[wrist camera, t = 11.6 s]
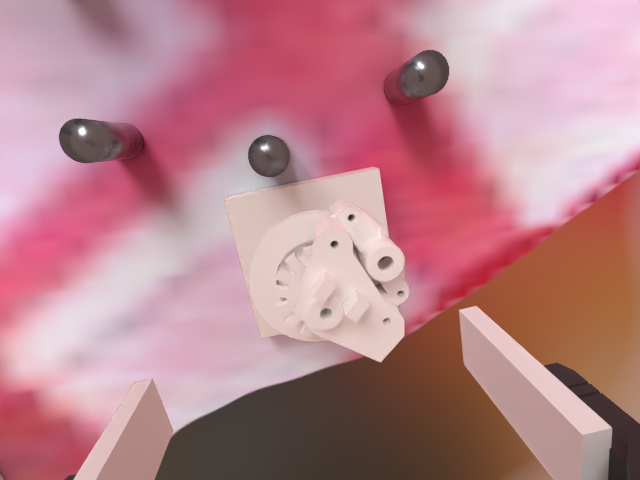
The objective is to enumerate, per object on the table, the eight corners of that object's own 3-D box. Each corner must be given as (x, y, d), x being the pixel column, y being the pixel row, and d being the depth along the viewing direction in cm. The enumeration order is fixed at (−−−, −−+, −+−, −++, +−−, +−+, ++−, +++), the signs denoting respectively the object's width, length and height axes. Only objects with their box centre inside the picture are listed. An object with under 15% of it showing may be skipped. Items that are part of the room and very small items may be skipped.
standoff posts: (19, -116, 26) (-73, -205, 20) (387, -182, 27) (419, -288, 20) (128, 199, 33) (86, 214, 26) (422, 140, 34) (454, 139, 27)
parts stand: (228, 195, 34) (223, 199, 31) (372, 166, 34) (379, 168, 32) (262, 325, 38) (260, 338, 35) (392, 298, 38) (399, 308, 36)
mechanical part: (231, 245, 32) (199, 301, 21) (341, 170, 31) (371, 187, 20) (301, 335, 35) (306, 426, 24) (404, 269, 34) (460, 332, 23)
